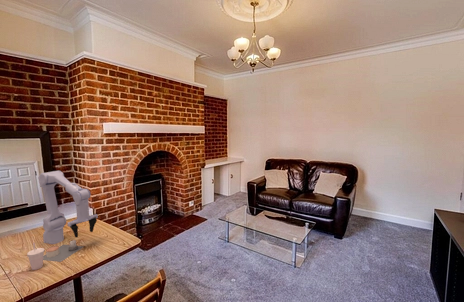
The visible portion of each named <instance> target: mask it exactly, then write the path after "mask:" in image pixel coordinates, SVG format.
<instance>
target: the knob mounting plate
mask: <svg viewBox="0 0 464 302" xmlns="http://www.w3.org/2000/svg"><path fill="white" fill-rule="evenodd" d="M84 247H85V246H83V245H77V240H75V239H74V240H70V242H69V244H61V245H60V246H59V254H58V255H57V256H54V257H50V258H49V257H47V256H46V254H44V256H43V261H48V262H49V261H50V262H57V263H58V262H59V263H61V262H63V261H65V260H66V259H67V258H69V257H71V256H72V255H73V254H76V253H77V252H78V251H80V250H82V249H83V248H84Z"/></svg>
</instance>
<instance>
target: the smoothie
mask: <svg viewBox="0 0 464 302" xmlns="http://www.w3.org/2000/svg"><path fill="white" fill-rule="evenodd" d="M32 245H33V246H32V247H33V249H30V251H28V252H27V253H26V254H27V255H26V256H27V258H28V261H29V265H30V267H31V270H32V271H36V270H39V269H41V268H42V267H43V266H44V265H43V264H44V260H43V256H44V255H45V252H46V251H45V248H44V247H37V248H36V243H35V242H33V244H32Z"/></svg>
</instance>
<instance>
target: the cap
mask: <svg viewBox="0 0 464 302" xmlns="http://www.w3.org/2000/svg"><path fill="white" fill-rule="evenodd" d="M59 247H60V246H58V245H54V246H50V247H48V248H46V251H45V252H46V254H45V255H46V256H47V257H49V258H50V257H54V256H57V255H58V254H59Z"/></svg>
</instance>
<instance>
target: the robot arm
mask: <svg viewBox="0 0 464 302" xmlns="http://www.w3.org/2000/svg"><path fill="white" fill-rule="evenodd" d="M38 182H39V186H40V188H41V189H42V192H43V198H44V203H45V206H46V212H47V215H46V216H45V217H44V218H43V220H42V222H43V223H42V227H43V228H42V229H43V230H44V232H43V234H42V237H43V243H44V244H49V245H56V244H60V243H62V242H63V241H64V239H65V237H64V228H65V226H66V224H67V227H69V228H70V229H71V231H72V232H73V235H74V237H75V238H78V237H79V233H78V232H79V231H78V230H79V225H78V224H82V223H86V222H88V225H89V232H91V233H93V231H94V227H95V225H96V223H97V220H98V216H99V215H98V214H97V213H95V214H92V215H90V208H89V204H90V203H89V199H90V198H91V195H92V194H91V191H90V189H88V188H82V186H79V185H78V184H77V183H76V182H71V181H70V180H69V179H67V178H66V177H65V174H64V172H62V171H61V170H53V171H48V172H41V173H40V174H39V175H38ZM56 185H60V186H62V187H64V188H65V192H66V193H68V194H70V195H71V196H72V198H73V201H74V204H75V206H76V208H75V209H76V210H75V211H76V218H75V219H74V220H72V221H68V222H67V218H66V217H65V214H64V213H63V212H60V211H59V207H58V201H57V197H56V192H55V186H56Z"/></svg>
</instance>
